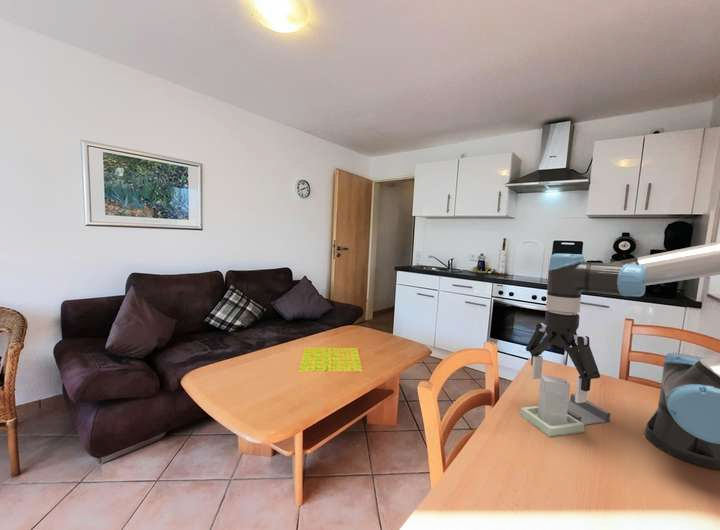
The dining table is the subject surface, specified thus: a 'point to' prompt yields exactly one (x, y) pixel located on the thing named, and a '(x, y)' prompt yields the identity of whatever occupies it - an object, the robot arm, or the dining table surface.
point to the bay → (587, 412)
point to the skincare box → (553, 400)
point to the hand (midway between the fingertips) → (556, 389)
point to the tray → (551, 430)
